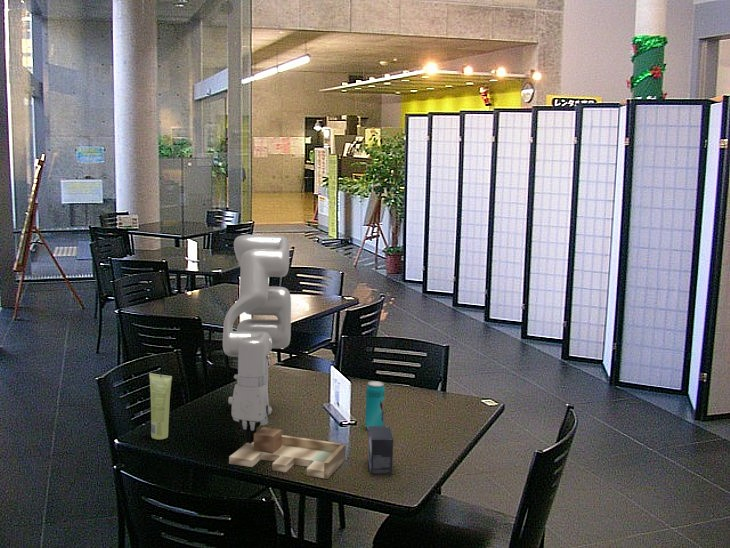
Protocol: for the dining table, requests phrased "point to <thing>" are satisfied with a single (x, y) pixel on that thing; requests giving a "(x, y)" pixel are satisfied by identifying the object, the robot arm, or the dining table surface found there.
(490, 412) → the dining table surface
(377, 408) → the beverage can
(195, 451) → the dining table surface
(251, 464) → the trap tray
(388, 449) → the small box
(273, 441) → the walnut block
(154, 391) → the tube
